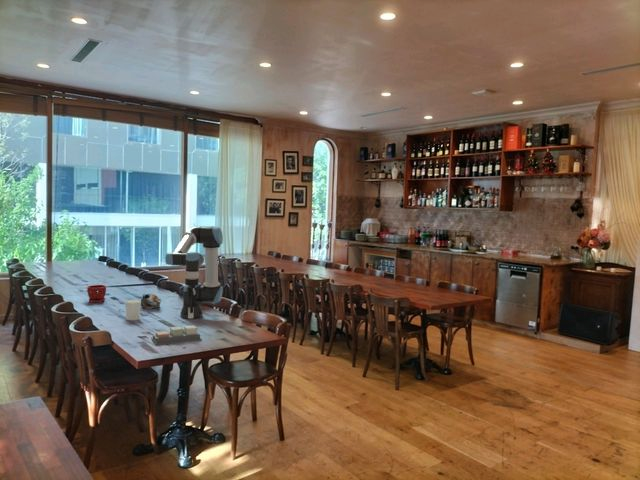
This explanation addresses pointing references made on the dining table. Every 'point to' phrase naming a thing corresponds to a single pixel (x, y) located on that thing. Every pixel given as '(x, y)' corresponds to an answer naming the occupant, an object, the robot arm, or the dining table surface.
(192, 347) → the dining table surface
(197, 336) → the button board
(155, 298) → the mottled brown lump
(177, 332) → the sage tile
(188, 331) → the ivory tile
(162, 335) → the terracotta tile
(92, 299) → the plant pot
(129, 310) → the candle holder
